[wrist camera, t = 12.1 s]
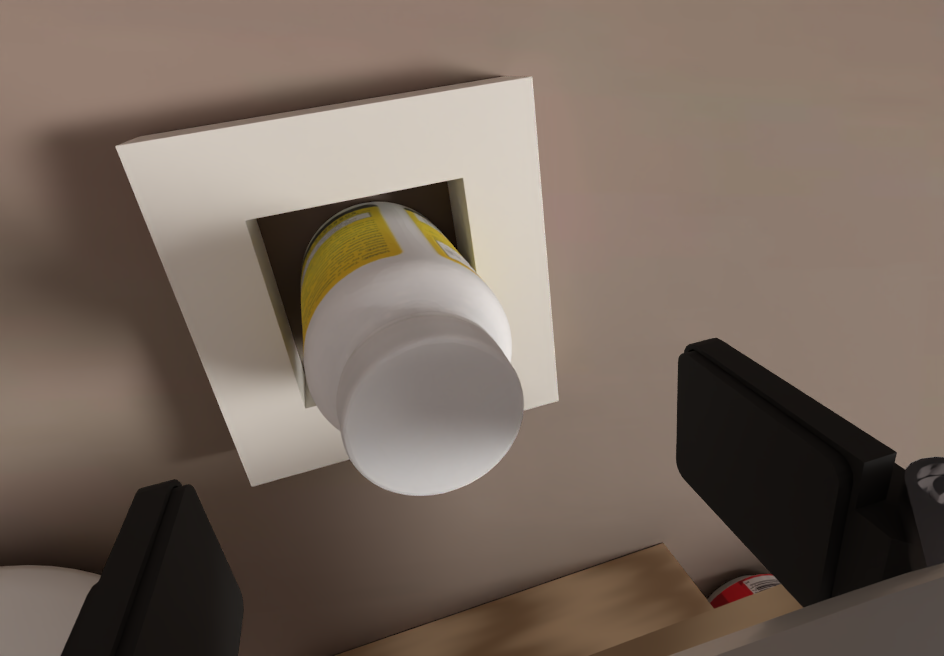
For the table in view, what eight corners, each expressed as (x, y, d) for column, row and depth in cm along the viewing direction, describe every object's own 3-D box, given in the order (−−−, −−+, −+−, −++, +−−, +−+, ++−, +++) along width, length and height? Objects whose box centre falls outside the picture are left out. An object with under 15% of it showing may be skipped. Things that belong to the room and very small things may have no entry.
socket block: (504, 76, 19) (532, 76, 17) (534, 370, 24) (558, 400, 22) (139, 136, 17) (115, 146, 15) (256, 445, 22) (251, 487, 20)
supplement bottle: (293, 336, 21) (289, 526, 12) (308, 186, 19) (317, 284, 10) (437, 347, 22) (523, 520, 14) (464, 211, 20) (584, 313, 12)
